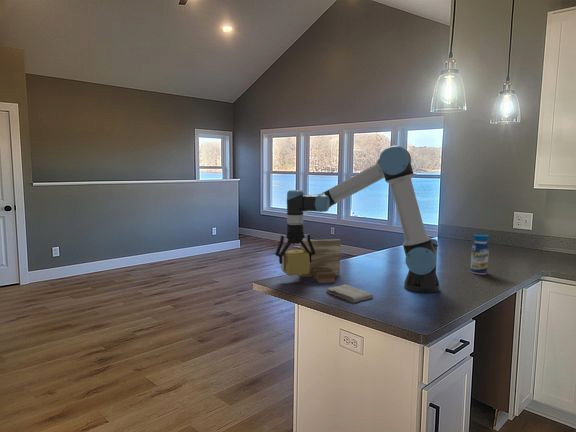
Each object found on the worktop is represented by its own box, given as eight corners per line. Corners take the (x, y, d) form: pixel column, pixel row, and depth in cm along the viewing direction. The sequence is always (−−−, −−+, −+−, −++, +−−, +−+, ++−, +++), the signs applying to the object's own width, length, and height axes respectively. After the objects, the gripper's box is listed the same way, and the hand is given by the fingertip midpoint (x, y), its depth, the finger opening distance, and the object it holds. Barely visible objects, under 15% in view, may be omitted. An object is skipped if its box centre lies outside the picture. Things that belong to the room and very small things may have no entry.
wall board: (347, 281, 198) (348, 244, 196) (306, 283, 195) (306, 245, 193) (336, 273, 214) (337, 238, 212) (298, 274, 211) (299, 239, 209)
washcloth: (344, 289, 188) (344, 282, 188) (374, 299, 174) (374, 292, 174) (324, 293, 181) (324, 286, 181) (354, 304, 167) (354, 297, 167)
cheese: (281, 271, 199) (280, 250, 198) (302, 269, 202) (301, 248, 201) (288, 276, 189) (288, 254, 188) (310, 274, 193) (310, 252, 192)
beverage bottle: (486, 271, 221) (488, 234, 219) (489, 275, 213) (491, 236, 211) (468, 270, 224) (471, 233, 221) (471, 274, 215) (473, 235, 213)
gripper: (318, 221, 199) (317, 266, 201) (268, 223, 195) (269, 269, 197) (322, 223, 192) (322, 270, 194) (270, 225, 187) (271, 273, 190)
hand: (295, 270), depth 196 cm, fingers closed on cheese, 11 cm apart
